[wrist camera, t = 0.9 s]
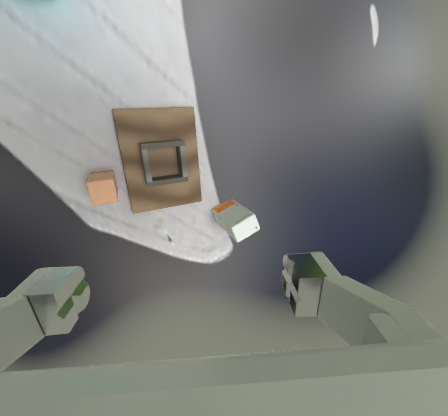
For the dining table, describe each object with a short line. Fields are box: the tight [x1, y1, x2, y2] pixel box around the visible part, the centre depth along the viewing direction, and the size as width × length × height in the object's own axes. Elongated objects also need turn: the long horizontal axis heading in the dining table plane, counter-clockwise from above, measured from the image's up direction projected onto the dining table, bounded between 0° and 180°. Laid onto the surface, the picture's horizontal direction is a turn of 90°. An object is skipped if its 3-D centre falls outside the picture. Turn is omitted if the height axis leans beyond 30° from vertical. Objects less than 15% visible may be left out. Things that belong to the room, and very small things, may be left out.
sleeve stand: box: [112, 107, 202, 214], centre depth 47 cm, size 20×15×5 cm
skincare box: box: [211, 199, 260, 242], centre depth 54 cm, size 6×4×12 cm
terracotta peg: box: [86, 171, 118, 206], centre depth 43 cm, size 4×4×8 cm
